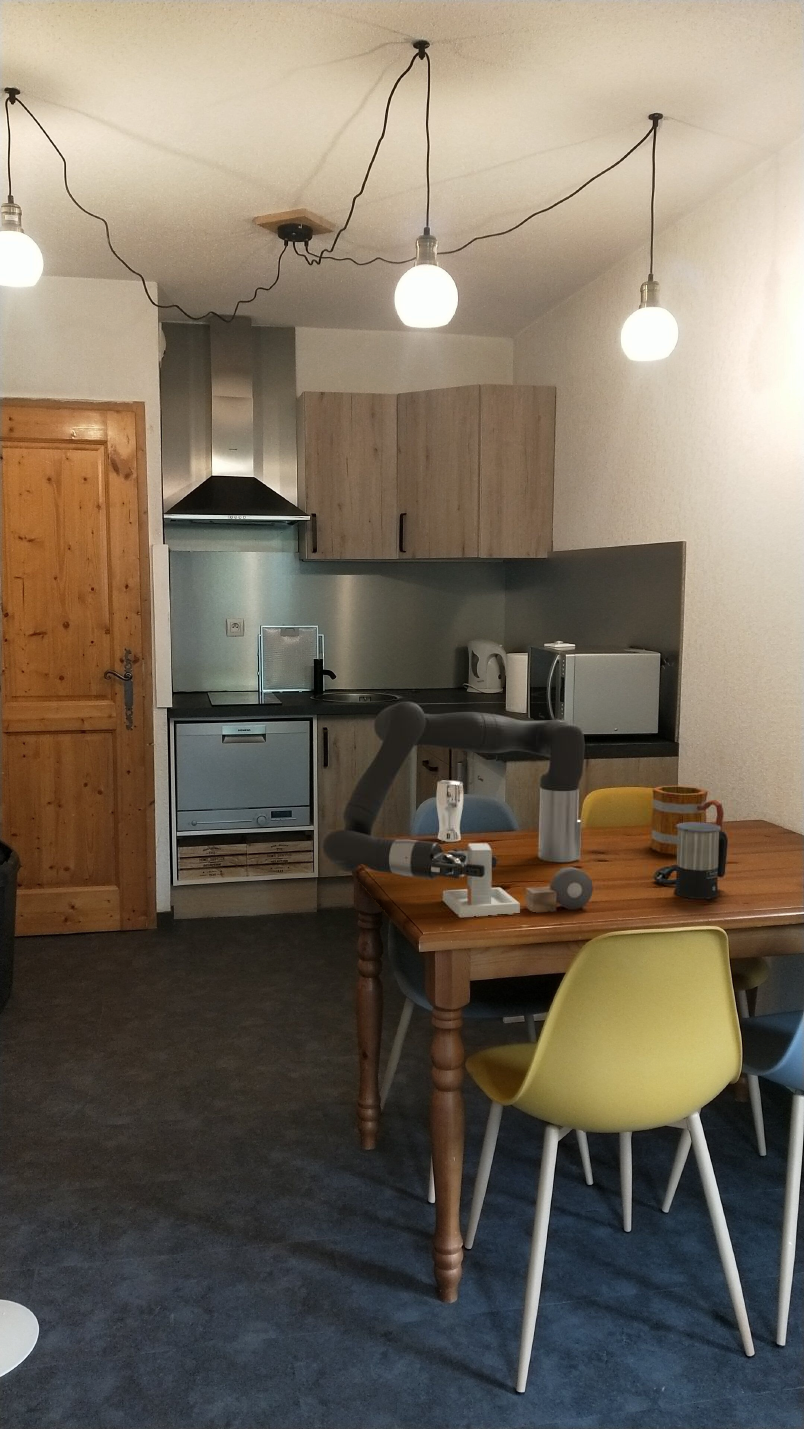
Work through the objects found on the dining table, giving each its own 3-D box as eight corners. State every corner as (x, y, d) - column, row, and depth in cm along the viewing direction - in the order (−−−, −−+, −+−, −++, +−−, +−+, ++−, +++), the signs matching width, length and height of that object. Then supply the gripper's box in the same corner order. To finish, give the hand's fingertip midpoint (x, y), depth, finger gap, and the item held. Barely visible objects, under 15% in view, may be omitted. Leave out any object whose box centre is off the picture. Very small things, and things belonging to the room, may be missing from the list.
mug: (639, 847, 278) (641, 788, 276) (673, 840, 286) (675, 783, 284) (702, 862, 262) (705, 800, 261) (737, 855, 270) (740, 795, 269)
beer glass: (465, 837, 287) (466, 781, 285) (458, 843, 280) (459, 785, 278) (440, 835, 289) (441, 779, 287) (432, 841, 282) (433, 783, 281)
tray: (499, 897, 230) (499, 887, 230) (519, 913, 218) (519, 903, 218) (442, 900, 227) (442, 890, 227) (459, 917, 215) (460, 907, 215)
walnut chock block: (548, 905, 224) (549, 886, 224) (556, 911, 220) (556, 891, 220) (525, 907, 223) (526, 887, 223) (532, 912, 219) (533, 893, 219)
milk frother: (710, 902, 228) (713, 832, 226) (637, 891, 237) (640, 823, 235) (730, 887, 240) (733, 821, 238) (660, 877, 248) (663, 812, 247)
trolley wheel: (585, 903, 226) (586, 865, 225) (592, 908, 222) (593, 870, 222) (549, 906, 224) (550, 867, 223) (555, 910, 221) (556, 872, 220)
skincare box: (466, 900, 225) (467, 843, 224) (487, 900, 226) (488, 843, 225) (470, 908, 219) (471, 849, 218) (491, 908, 220) (492, 849, 218)
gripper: (402, 848, 220) (479, 856, 214) (428, 834, 234) (501, 841, 227) (402, 884, 221) (479, 893, 215) (427, 868, 234) (500, 876, 228)
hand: (490, 866), depth 221 cm, fingers open, 8 cm apart
